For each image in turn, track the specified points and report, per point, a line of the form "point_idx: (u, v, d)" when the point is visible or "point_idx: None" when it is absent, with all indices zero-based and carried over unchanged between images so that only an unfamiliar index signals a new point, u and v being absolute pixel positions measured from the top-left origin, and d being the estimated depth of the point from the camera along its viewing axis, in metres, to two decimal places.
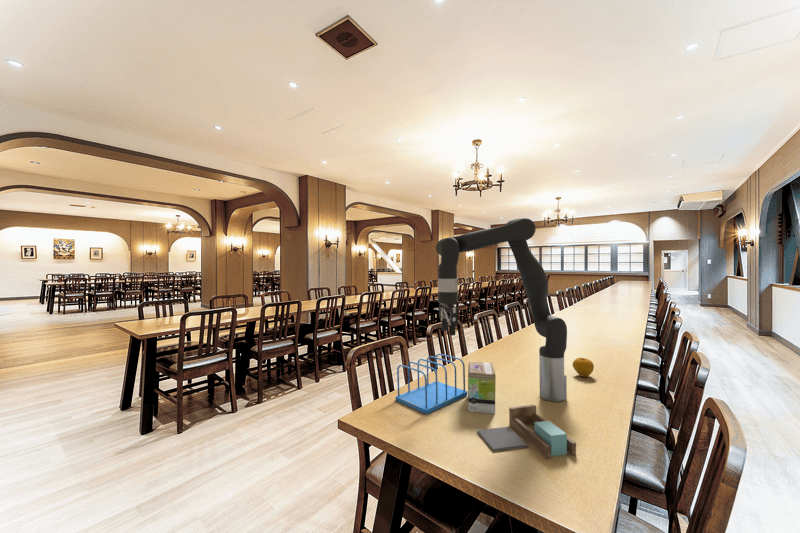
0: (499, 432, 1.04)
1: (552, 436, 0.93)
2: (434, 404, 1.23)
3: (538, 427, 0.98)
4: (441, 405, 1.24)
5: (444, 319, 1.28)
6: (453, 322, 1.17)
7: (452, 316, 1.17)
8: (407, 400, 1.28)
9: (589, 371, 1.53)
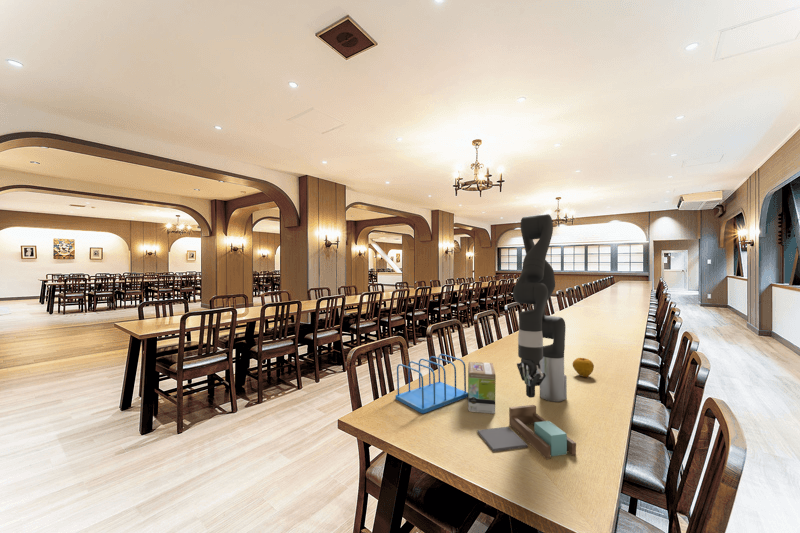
0: (499, 432, 1.04)
1: (552, 436, 0.93)
2: (431, 404, 1.23)
3: (538, 427, 0.98)
4: (439, 405, 1.24)
5: None
6: (534, 385, 1.03)
7: (536, 381, 1.02)
8: (406, 399, 1.29)
9: (589, 371, 1.53)
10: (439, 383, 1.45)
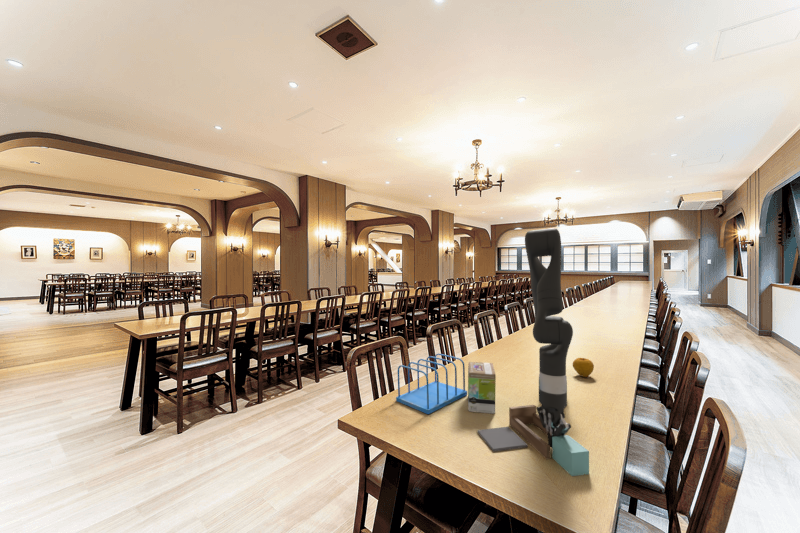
0: (499, 432, 1.04)
1: (572, 454, 0.84)
2: (435, 404, 1.23)
3: (557, 443, 0.89)
4: (442, 405, 1.24)
5: None
6: None
7: (560, 432, 0.91)
8: (408, 400, 1.27)
9: (589, 371, 1.53)
10: (436, 383, 1.46)
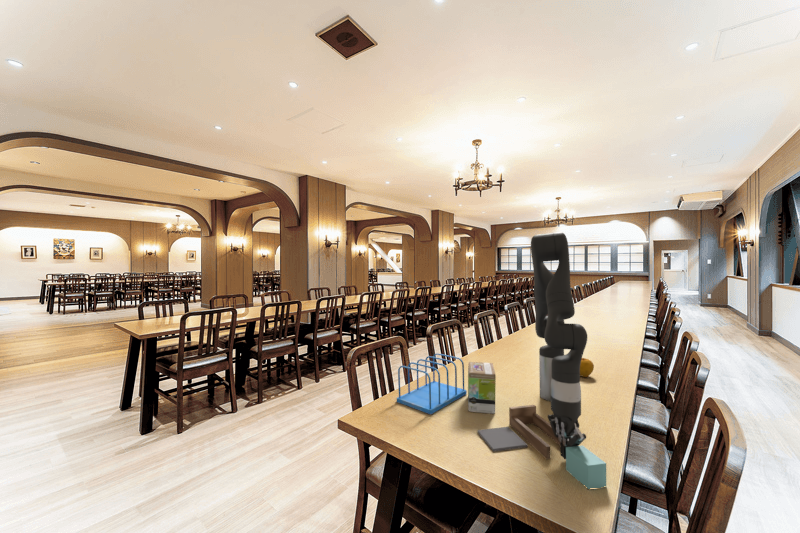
0: (499, 432, 1.04)
1: (589, 466, 0.79)
2: (437, 404, 1.23)
3: (571, 454, 0.84)
4: (444, 405, 1.25)
5: None
6: (572, 446, 0.87)
7: (574, 443, 0.86)
8: (409, 401, 1.27)
9: (589, 371, 1.53)
10: (434, 383, 1.46)
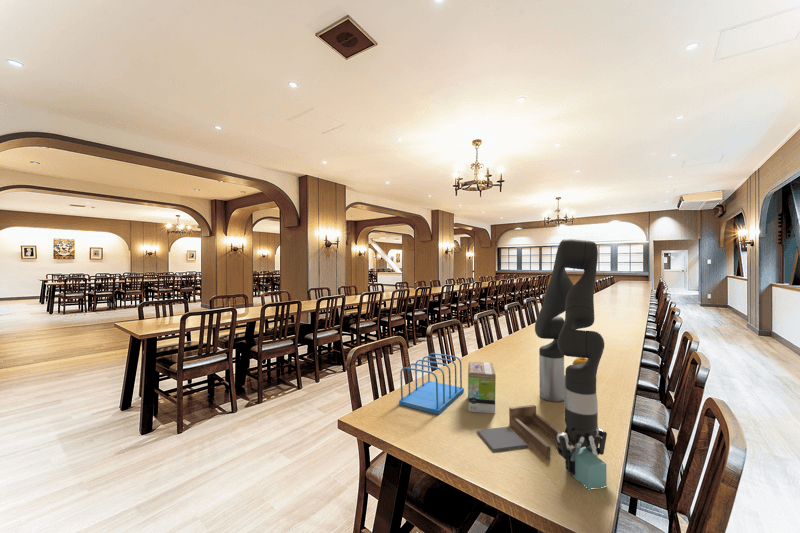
0: (499, 432, 1.04)
1: (589, 467, 0.79)
2: (442, 404, 1.24)
3: None
4: (448, 404, 1.25)
5: None
6: (560, 453, 0.84)
7: (557, 445, 0.84)
8: (413, 402, 1.25)
9: None
10: (430, 382, 1.46)
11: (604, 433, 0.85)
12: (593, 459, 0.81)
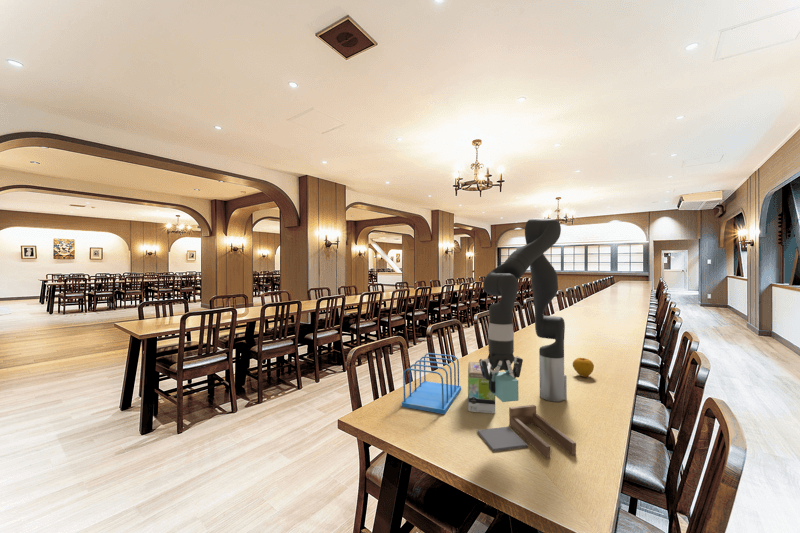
0: (499, 432, 1.04)
1: (503, 382, 0.95)
2: (446, 403, 1.24)
3: None
4: (450, 403, 1.26)
5: None
6: (483, 376, 1.01)
7: (481, 369, 1.01)
8: (417, 403, 1.24)
9: (589, 371, 1.53)
10: (426, 382, 1.46)
11: (520, 359, 1.01)
12: (509, 378, 0.98)
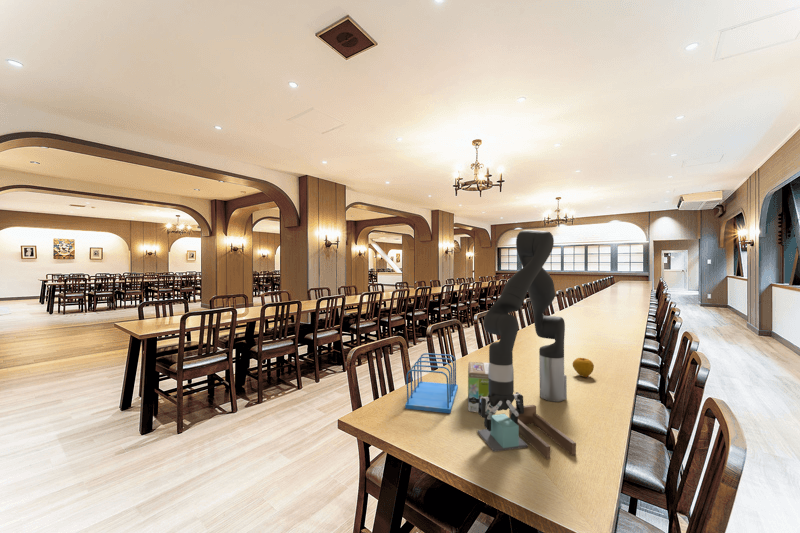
0: None
1: (504, 428, 0.95)
2: (449, 402, 1.25)
3: (493, 420, 1.01)
4: (453, 402, 1.27)
5: (513, 412, 1.02)
6: (479, 413, 1.01)
7: (479, 405, 1.01)
8: (421, 404, 1.24)
9: (589, 371, 1.53)
10: (423, 383, 1.46)
11: (520, 396, 1.01)
12: (509, 423, 0.98)
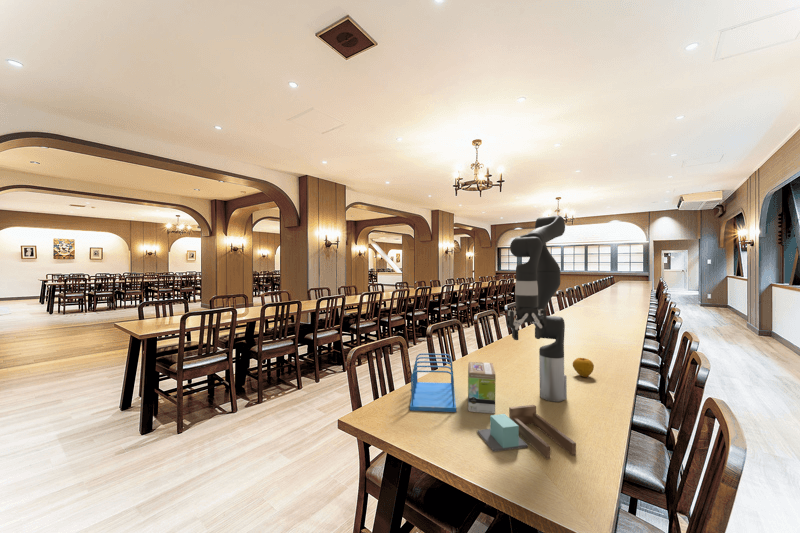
0: None
1: (504, 428, 0.95)
2: (452, 401, 1.26)
3: (493, 420, 1.01)
4: None
5: (537, 326, 1.16)
6: (507, 325, 1.14)
7: (507, 318, 1.15)
8: (426, 405, 1.23)
9: (589, 371, 1.53)
10: (419, 383, 1.45)
11: (543, 310, 1.15)
12: (509, 423, 0.98)
